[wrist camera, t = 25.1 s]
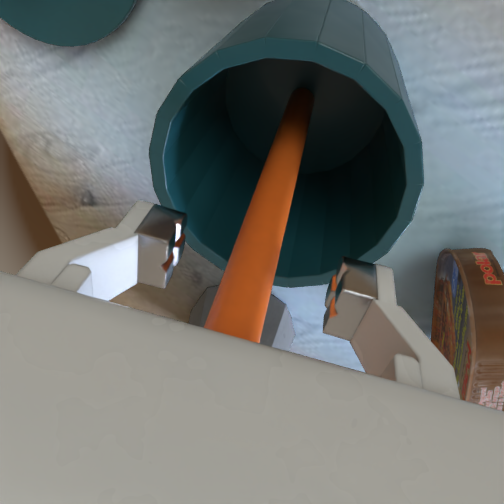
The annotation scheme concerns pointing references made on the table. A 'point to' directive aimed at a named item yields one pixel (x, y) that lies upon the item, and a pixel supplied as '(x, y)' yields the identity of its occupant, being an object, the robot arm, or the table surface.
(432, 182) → the table surface
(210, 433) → the robot arm
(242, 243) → the straw
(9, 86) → the table surface
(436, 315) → the tin
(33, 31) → the can lid
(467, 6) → the table surface
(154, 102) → the table surface
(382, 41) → the can
